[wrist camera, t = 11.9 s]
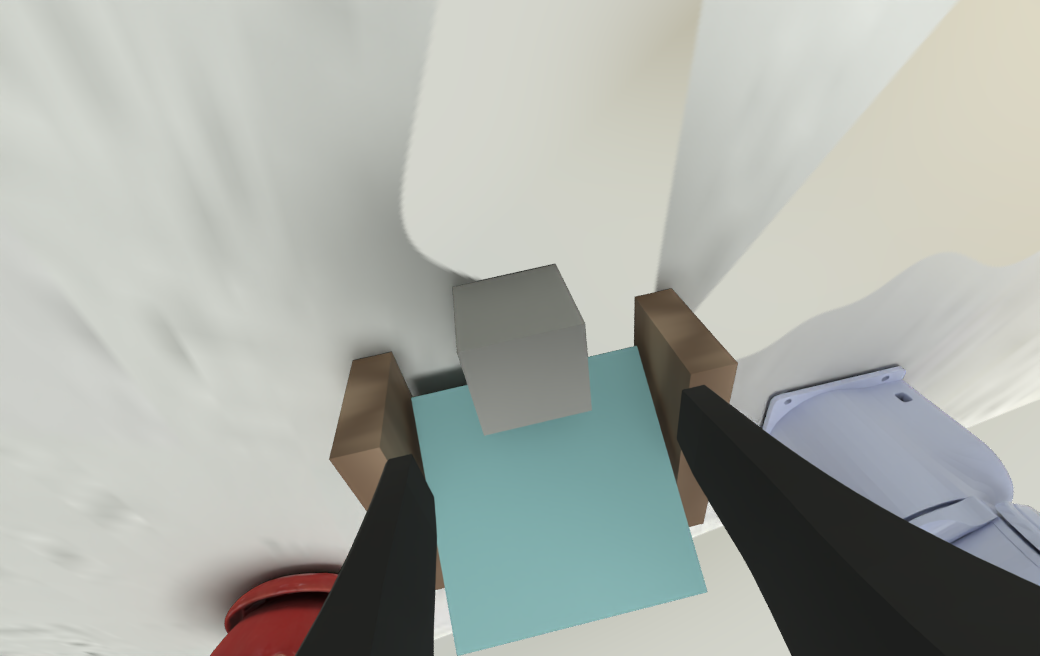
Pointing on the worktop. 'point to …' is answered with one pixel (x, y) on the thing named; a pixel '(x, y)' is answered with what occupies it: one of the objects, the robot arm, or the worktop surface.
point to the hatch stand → (666, 362)
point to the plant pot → (275, 616)
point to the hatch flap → (555, 511)
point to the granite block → (522, 349)
